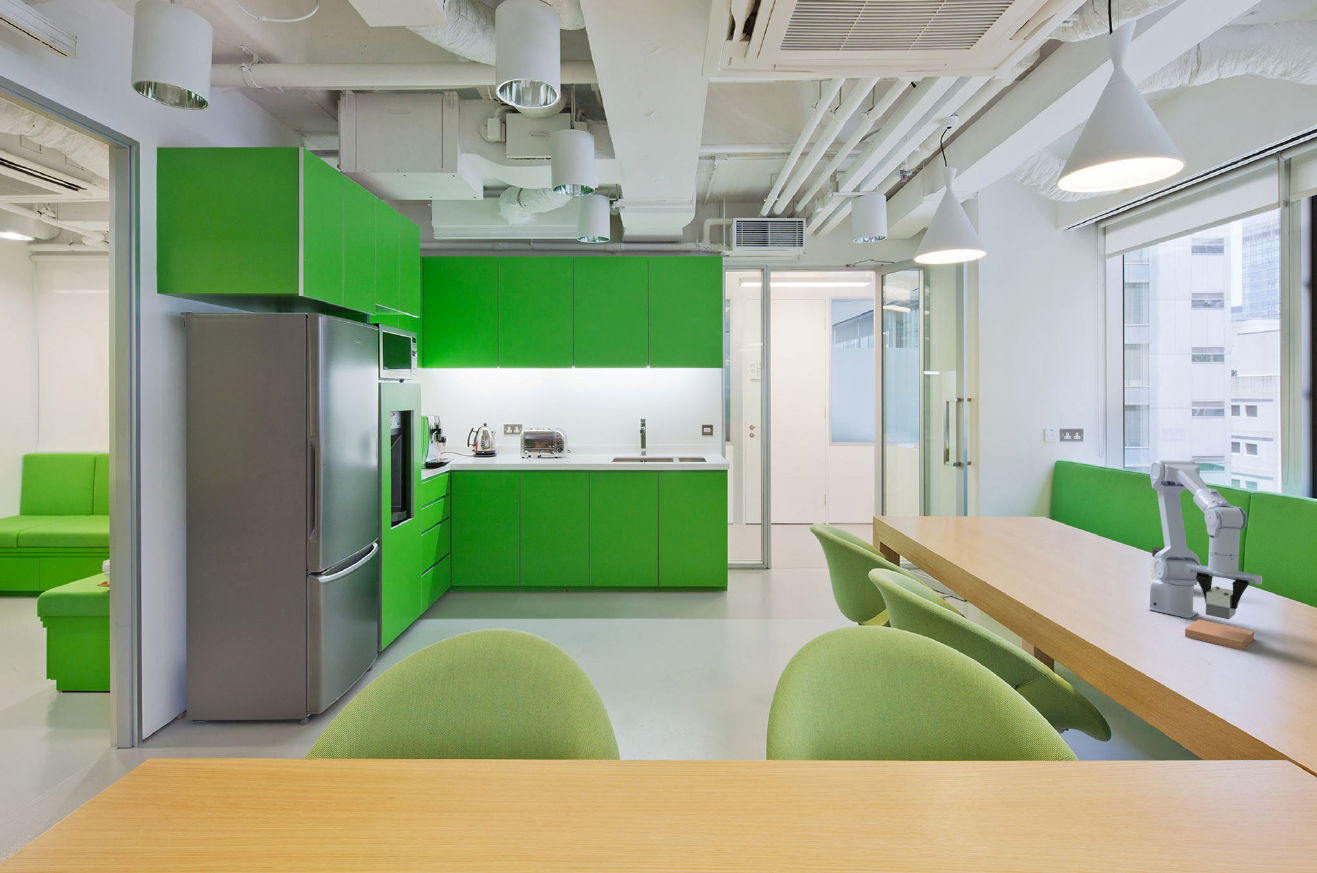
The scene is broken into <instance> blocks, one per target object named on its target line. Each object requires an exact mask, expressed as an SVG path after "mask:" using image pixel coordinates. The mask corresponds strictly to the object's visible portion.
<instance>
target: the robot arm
mask: <svg viewBox="0 0 1317 873" xmlns="http://www.w3.org/2000/svg"><path fill="white" fill-rule="evenodd" d="M1200 474H1201V470H1200V466H1199V465H1198V463H1197V462H1196V461H1195V460H1192V459H1191V460H1161V459H1157V460H1154V461H1153V462H1152V464H1151V466H1150V469H1149V476H1150V477H1149V478H1150V483H1151V488H1152V489H1153V490H1155V491H1156V492H1157V500H1158V506H1159V507H1158V508H1159V513H1160V514H1159V516H1160V521H1161V523H1160V524H1161V528H1162V536H1163V543H1164V549H1162V550H1161V551H1159V552H1158V553H1156V554H1155V563H1154V572H1155V575H1156V576H1157V577H1158V578H1159V579H1156V578H1155V579H1153V580H1152V583H1151V584H1150V589H1149V590H1150V591H1149V607H1148V610H1150V611H1153V612H1158V613H1163V614H1168V615H1172V616H1176V617H1180V616H1181V618H1185V619H1191V618H1193V617H1194V616H1196V615H1197V614H1198V611H1197V610H1194V597H1195V596H1194V592H1195V586H1197V585H1198V584H1199V585H1198V586H1200V588H1201V591H1202V593H1203V597H1204V602H1205V604H1206V596H1207V591H1208V590H1210V589H1211V588H1212V584H1213V583H1212V582H1213V577H1216V578H1219V579H1220V578H1221V579H1227V580H1232V581H1233V582H1232V590H1233V600H1232V609H1236V610H1237V608H1238V606H1239V603H1240V601H1241V598H1242V595H1243V593H1244V592H1245V590H1246V589H1247V588H1248V586H1249V585H1250V583H1251V584H1255V585H1262V584H1263V575H1258V574H1254V573H1248V572H1244V571H1241V570H1240V571H1239V559H1240V556H1239V555H1240V542H1241V541H1240V540H1241V539H1240V537H1241V530H1244V529H1245V528H1246V526H1247V523H1248V518H1247V514H1246V512H1245V510H1244V509H1243V507H1241V506H1235V505H1231V504H1230V503H1229V502H1228V500H1226V499H1225V497H1223V496H1222V495H1221V493H1220V492H1219V491H1218V490H1217V489H1215V488H1211V487H1208V485H1207V484H1206V483H1205V481H1204V480H1203V479H1202V477H1201V476H1200ZM1187 490H1188V491H1189V492H1191V494H1192V495H1193V497H1192V501H1193V503H1194V504H1195V505H1196V506H1197V508H1198V509H1200V511H1201V512H1202V514H1204V522H1205V525H1206V532H1207V535H1209V537H1208V538H1209V540H1208V559H1207V560H1208V562H1207V563H1208V564H1207V565H1203V564H1201V561H1200V558H1199V555H1198V554H1197V553H1195V552H1194V551H1193V550H1191V549H1189V548H1188V543H1187V537H1186V530H1185V522H1184V518H1183V517H1184V516H1183V510H1182V501H1181V496H1180V495H1181V493H1182V492H1185V491H1187ZM1167 558H1180V559H1184V560H1179V559H1167Z"/></svg>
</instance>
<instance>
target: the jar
mask: <svg viewBox="0 0 1317 873" xmlns="http://www.w3.org/2000/svg"><path fill="white" fill-rule="evenodd" d="M1164 548H1165V546H1164V547H1163V546H1161V547H1158V546H1156V547H1152V548H1151V560H1150V578H1149V579H1150V580H1149V581H1150V582H1149V583H1150V585H1151V583H1152V580H1153V579H1155V578H1156V579H1159V578H1158V577H1157V576H1156V575H1155V572H1154V563H1155V554H1156V553H1158V552H1159V551H1161V550H1162V549H1164ZM1167 559H1179V560H1184V559H1180V558H1167Z"/></svg>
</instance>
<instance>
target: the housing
mask: <svg viewBox="0 0 1317 873" xmlns="http://www.w3.org/2000/svg"><path fill="white" fill-rule="evenodd" d="M1232 600H1233V589H1228V588H1225V587H1220V586H1212V587H1211V589H1210V590H1208V591H1207V596H1206V603H1205V615H1206V616H1211V617H1215V618H1220V619H1224V620H1225V619H1226V620H1230V619H1232V618H1233V617H1234V615H1236V613H1237V612H1236V610H1237V609H1232Z"/></svg>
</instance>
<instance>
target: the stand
mask: <svg viewBox="0 0 1317 873" xmlns="http://www.w3.org/2000/svg"><path fill="white" fill-rule="evenodd" d="M1184 631H1185V632H1184V637H1185V636H1188V637H1187V638H1189V637H1191V638H1190V639H1193V638H1197V639H1196V640H1198V639H1199V641H1202V640H1204V641H1203V642H1206V641H1207V642H1206V643H1211V644H1215V645H1220V646H1223V647H1227V648H1232V649H1235V650H1236V649H1237V650H1240V649H1241V650H1240V651H1243V650H1244V649H1245V648H1246V647H1247V646H1248V645H1249V644H1251V642H1252V641H1253V640H1255V631H1254V630H1250V629H1245V628H1241V627H1237V626H1231V625H1228V624H1222V623H1219V622H1213V621H1208V620H1204V619H1200V618H1198V619H1197V620H1196V621H1194V622H1193V623H1191V624H1190V625H1189V626H1187V627H1186V628H1185V630H1184ZM1251 640H1252V641H1251ZM1244 647H1245V648H1244ZM1242 649H1243V650H1242Z"/></svg>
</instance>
